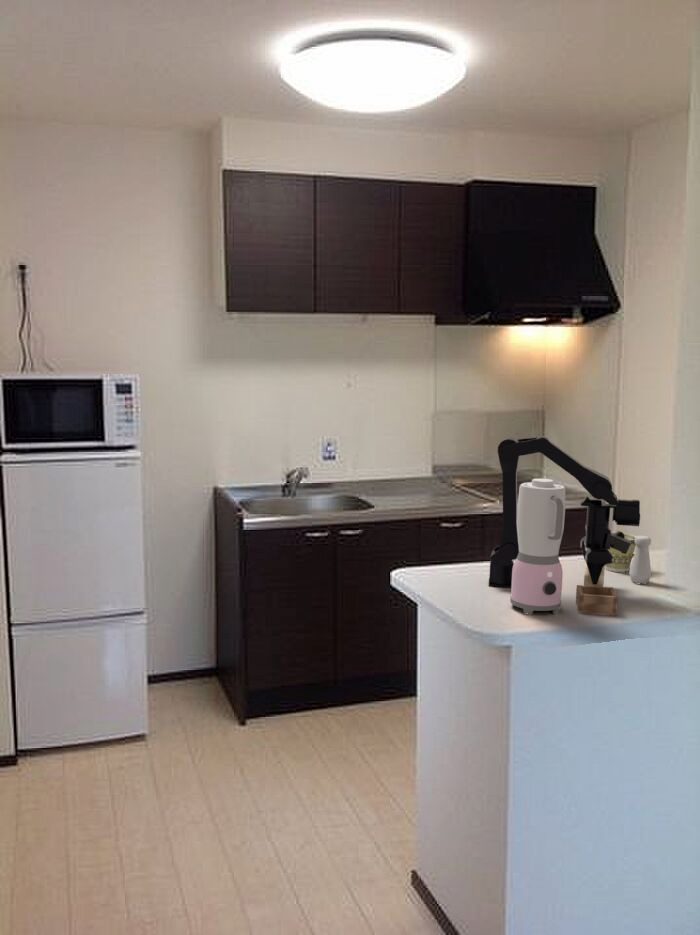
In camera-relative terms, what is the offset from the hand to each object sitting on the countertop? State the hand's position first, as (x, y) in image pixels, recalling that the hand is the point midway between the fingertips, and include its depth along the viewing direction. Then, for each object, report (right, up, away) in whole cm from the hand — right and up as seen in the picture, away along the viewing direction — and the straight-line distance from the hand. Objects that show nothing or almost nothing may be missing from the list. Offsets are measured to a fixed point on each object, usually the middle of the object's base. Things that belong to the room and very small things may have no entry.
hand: (593, 581), depth 233 cm
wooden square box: (-3, -5, -14) cm, 15 cm away
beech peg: (0, -3, 0) cm, 3 cm away
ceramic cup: (+15, 0, +25) cm, 29 cm away
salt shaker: (+16, -2, +12) cm, 20 cm away
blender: (-18, -5, -16) cm, 25 cm away
